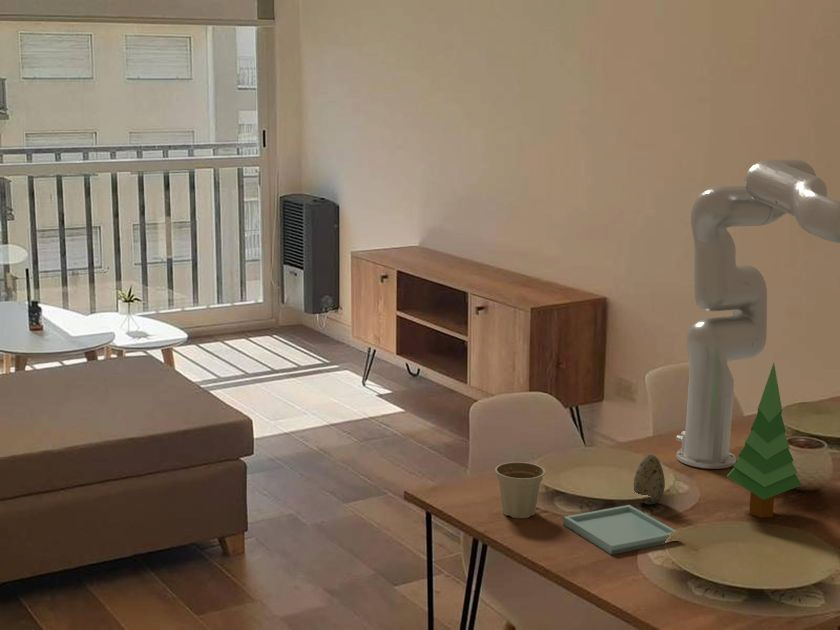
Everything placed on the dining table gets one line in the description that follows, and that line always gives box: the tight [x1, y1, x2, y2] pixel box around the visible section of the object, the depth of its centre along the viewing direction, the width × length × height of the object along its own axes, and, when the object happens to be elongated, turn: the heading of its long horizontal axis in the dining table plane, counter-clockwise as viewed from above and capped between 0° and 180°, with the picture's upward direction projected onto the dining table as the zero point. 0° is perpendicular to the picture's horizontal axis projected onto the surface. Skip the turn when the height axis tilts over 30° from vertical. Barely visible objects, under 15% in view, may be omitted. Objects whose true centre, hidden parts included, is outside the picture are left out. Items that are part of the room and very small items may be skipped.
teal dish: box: [562, 504, 677, 556], centre depth 216 cm, size 15×15×2 cm
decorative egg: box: [633, 454, 666, 505], centre depth 230 cm, size 6×6×10 cm
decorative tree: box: [726, 362, 803, 518], centre depth 224 cm, size 14×16×30 cm
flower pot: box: [494, 461, 546, 519], centre depth 224 cm, size 9×9×9 cm
